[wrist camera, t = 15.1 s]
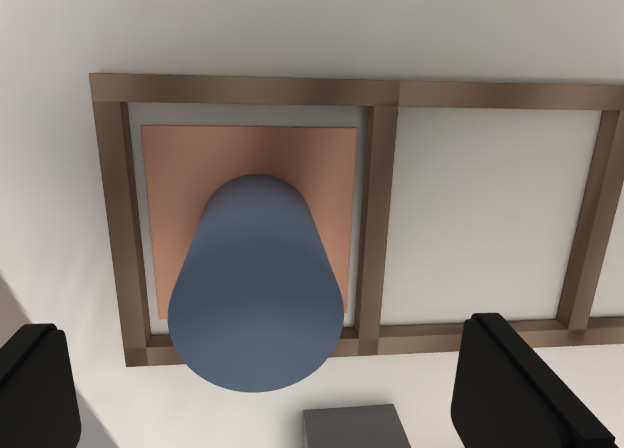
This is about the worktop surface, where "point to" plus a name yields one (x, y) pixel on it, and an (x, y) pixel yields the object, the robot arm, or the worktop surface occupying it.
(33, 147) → the worktop surface
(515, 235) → the worktop surface
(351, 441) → the die
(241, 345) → the blue cylinder
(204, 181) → the board
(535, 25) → the worktop surface
